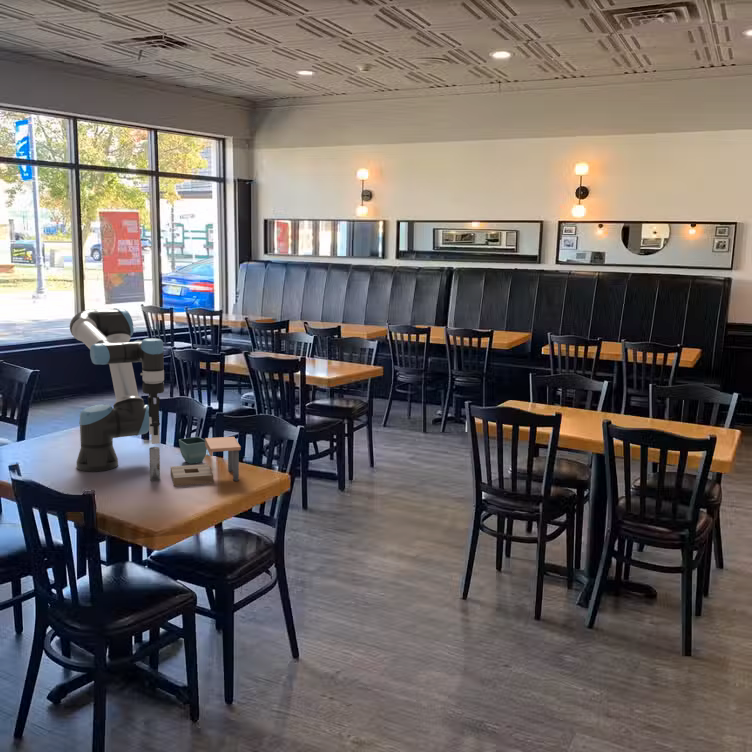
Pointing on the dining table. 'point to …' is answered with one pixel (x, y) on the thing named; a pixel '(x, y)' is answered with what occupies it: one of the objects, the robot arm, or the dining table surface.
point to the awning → (226, 445)
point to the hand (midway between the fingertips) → (154, 438)
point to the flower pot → (193, 449)
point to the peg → (154, 463)
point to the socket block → (191, 474)
